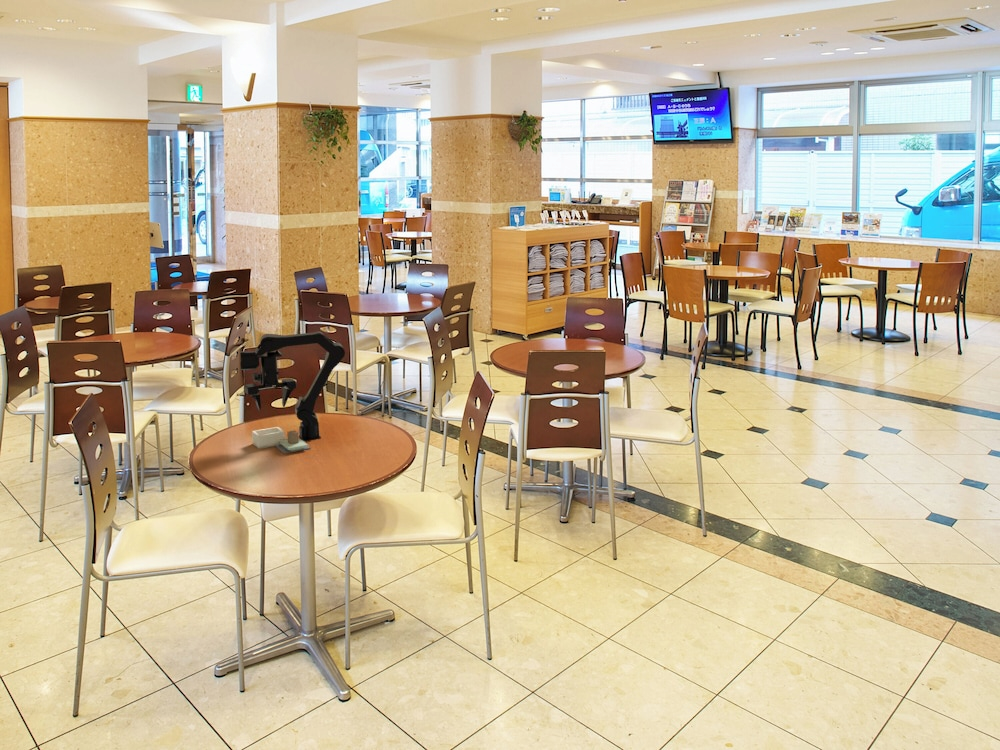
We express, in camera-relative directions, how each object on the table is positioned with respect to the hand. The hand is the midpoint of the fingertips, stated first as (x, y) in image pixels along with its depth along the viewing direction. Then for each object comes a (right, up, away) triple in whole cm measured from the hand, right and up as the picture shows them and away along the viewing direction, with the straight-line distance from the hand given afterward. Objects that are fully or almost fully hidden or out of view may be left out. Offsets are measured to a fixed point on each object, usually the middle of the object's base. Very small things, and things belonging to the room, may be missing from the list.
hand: (271, 408), depth 328 cm
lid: (+10, -13, -6) cm, 17 cm away
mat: (+9, -14, -5) cm, 18 cm away
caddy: (-1, -13, -1) cm, 13 cm away
